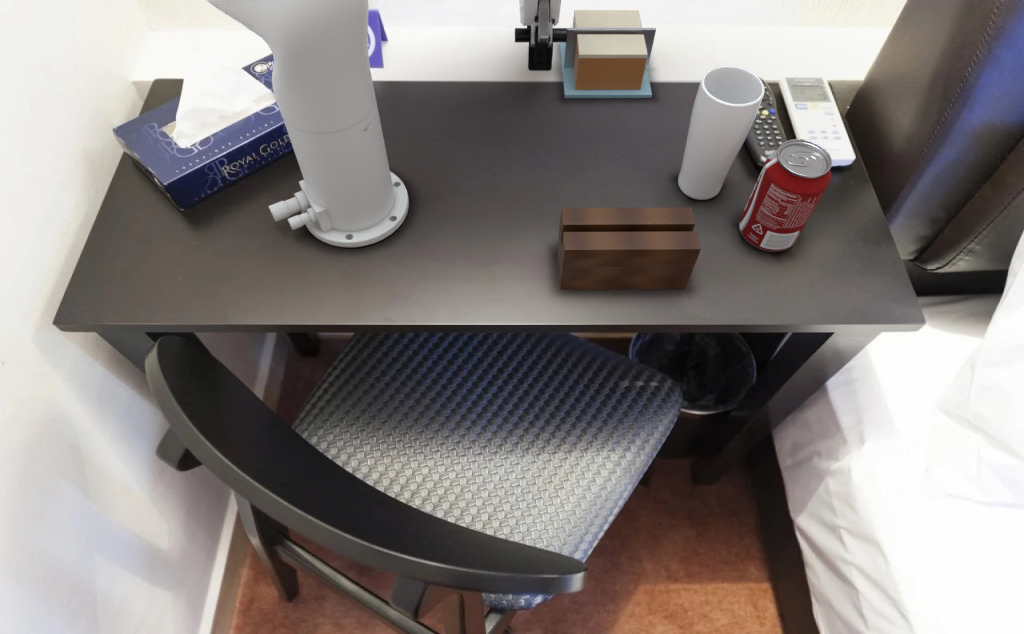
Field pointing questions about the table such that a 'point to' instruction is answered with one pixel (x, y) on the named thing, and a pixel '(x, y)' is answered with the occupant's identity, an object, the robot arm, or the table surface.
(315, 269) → the table surface
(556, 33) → the knife
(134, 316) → the table surface
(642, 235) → the block
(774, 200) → the soda can
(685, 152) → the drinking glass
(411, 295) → the table surface
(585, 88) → the boxes on blue tray
